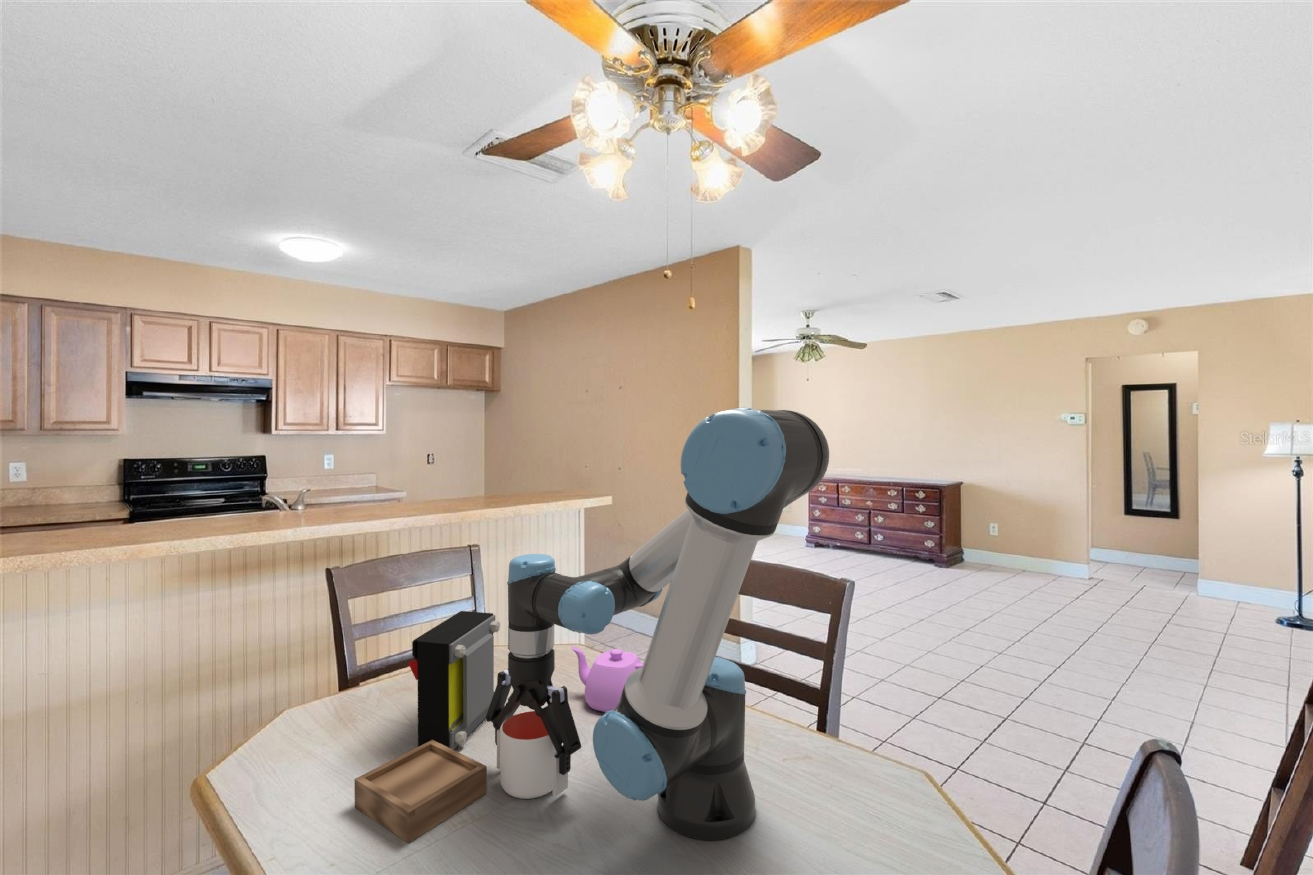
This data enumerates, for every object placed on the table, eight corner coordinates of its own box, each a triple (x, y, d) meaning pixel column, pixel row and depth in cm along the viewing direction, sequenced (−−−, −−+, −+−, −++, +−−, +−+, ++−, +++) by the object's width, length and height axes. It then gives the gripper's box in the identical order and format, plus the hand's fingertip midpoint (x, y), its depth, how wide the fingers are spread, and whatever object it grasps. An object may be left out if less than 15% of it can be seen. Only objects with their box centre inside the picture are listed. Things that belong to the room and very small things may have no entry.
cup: (542, 760, 108) (542, 704, 108) (573, 786, 100) (573, 726, 100) (489, 781, 101) (489, 722, 101) (518, 811, 94) (518, 747, 94)
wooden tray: (486, 793, 98) (486, 766, 98) (408, 843, 87) (408, 812, 86) (432, 765, 106) (432, 739, 106) (354, 807, 94) (354, 779, 94)
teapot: (583, 682, 140) (583, 634, 139) (666, 694, 134) (667, 644, 134) (557, 708, 127) (557, 656, 127) (647, 723, 121) (648, 668, 121)
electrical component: (459, 754, 109) (459, 645, 109) (408, 748, 111) (407, 640, 111) (503, 709, 127) (503, 614, 126) (458, 704, 129) (458, 610, 128)
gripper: (603, 659, 96) (603, 791, 97) (498, 628, 110) (498, 744, 111) (571, 675, 90) (571, 817, 91) (464, 640, 104) (464, 764, 105)
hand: (531, 777), depth 101 cm, fingers open, 12 cm apart
